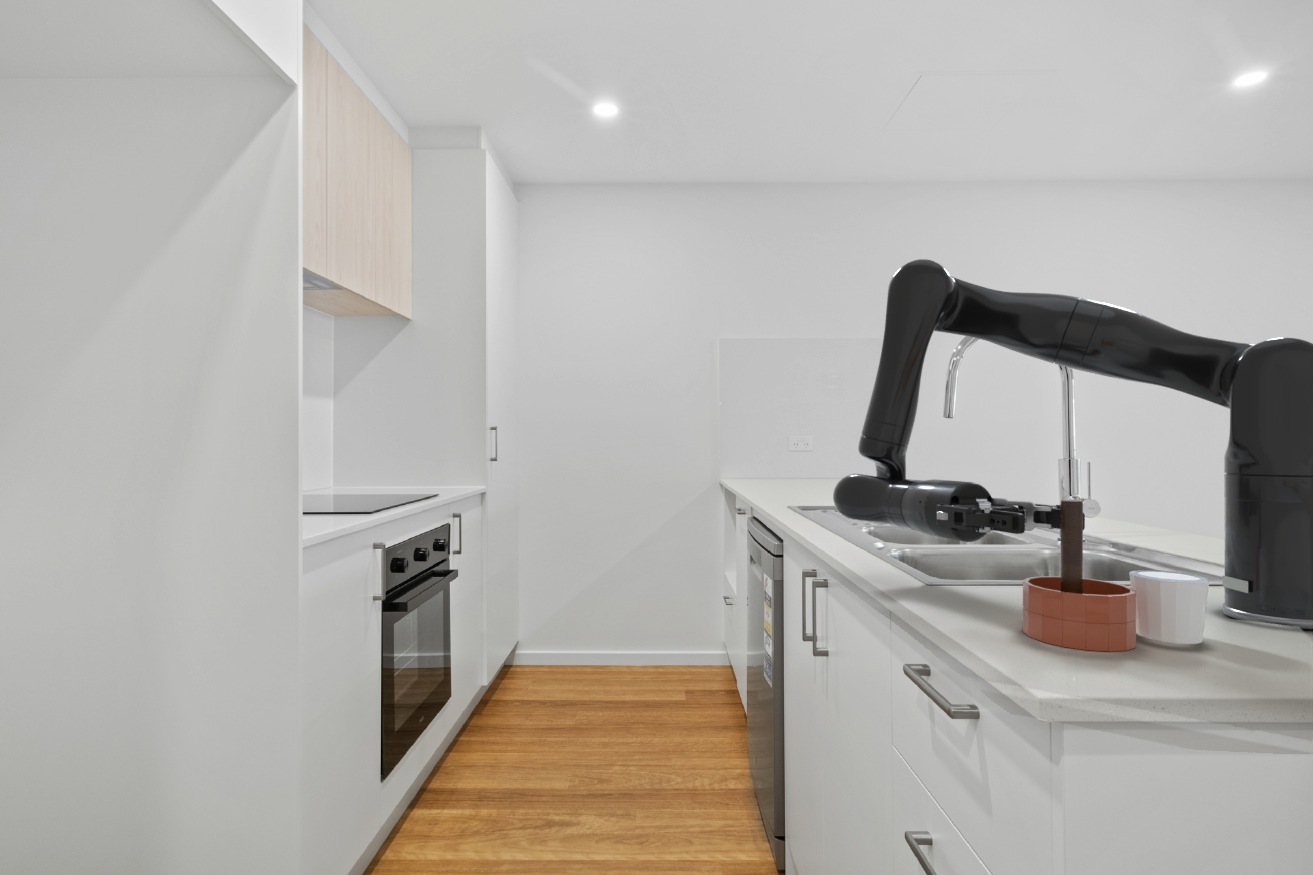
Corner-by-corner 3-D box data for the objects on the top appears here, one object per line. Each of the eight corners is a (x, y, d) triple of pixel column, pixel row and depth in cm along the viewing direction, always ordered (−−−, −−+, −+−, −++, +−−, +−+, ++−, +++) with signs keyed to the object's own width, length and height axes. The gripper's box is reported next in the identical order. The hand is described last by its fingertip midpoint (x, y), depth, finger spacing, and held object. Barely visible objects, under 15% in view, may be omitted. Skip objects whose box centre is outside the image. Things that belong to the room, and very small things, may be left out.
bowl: (1029, 625, 79) (1029, 572, 79) (1136, 639, 74) (1136, 583, 74) (1017, 645, 71) (1017, 587, 71) (1135, 664, 65) (1135, 600, 65)
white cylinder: (1199, 637, 75) (1198, 572, 75) (1219, 654, 68) (1219, 583, 69) (1123, 629, 78) (1123, 567, 78) (1136, 645, 71) (1135, 577, 71)
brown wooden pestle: (1057, 629, 75) (1057, 498, 75) (1091, 635, 73) (1092, 500, 73) (1050, 635, 73) (1051, 500, 73) (1086, 641, 71) (1086, 502, 71)
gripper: (900, 480, 88) (1002, 489, 73) (989, 479, 93) (1101, 487, 78) (900, 539, 88) (1001, 560, 73) (988, 535, 93) (1101, 554, 77)
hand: (1053, 522), depth 75 cm, fingers open, 8 cm apart
